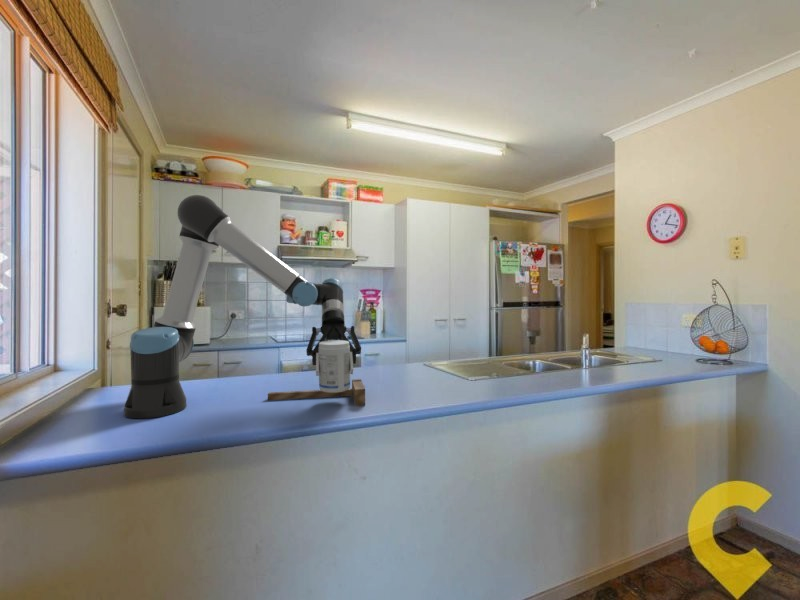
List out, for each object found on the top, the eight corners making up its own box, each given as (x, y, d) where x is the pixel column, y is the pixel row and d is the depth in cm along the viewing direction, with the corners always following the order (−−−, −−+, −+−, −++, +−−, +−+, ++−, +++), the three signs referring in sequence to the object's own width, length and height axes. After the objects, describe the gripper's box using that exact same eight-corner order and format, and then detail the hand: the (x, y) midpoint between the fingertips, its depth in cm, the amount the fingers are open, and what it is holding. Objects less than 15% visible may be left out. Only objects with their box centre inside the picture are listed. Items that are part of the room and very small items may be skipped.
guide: (262, 411, 110) (262, 394, 109) (268, 398, 122) (268, 383, 122) (366, 405, 115) (366, 388, 115) (362, 393, 128) (362, 379, 128)
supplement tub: (340, 383, 125) (340, 339, 125) (356, 390, 118) (356, 342, 117) (313, 388, 119) (313, 341, 119) (328, 395, 112) (328, 345, 111)
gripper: (364, 322, 135) (370, 377, 120) (299, 323, 131) (297, 381, 116) (366, 308, 130) (372, 364, 115) (298, 309, 125) (296, 367, 110)
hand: (334, 372), depth 115 cm, fingers closed on supplement tub, 9 cm apart
